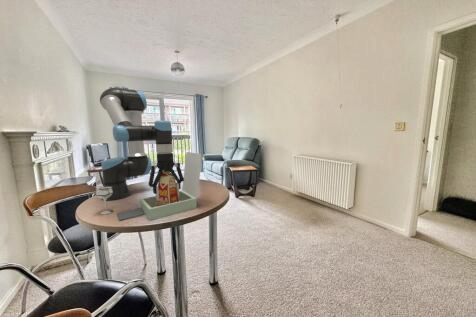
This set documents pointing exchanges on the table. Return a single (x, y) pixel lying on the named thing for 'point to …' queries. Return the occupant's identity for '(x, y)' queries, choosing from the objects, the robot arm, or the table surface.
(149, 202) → the green shallow open box
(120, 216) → the mat
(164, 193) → the milk carton
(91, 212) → the table surface
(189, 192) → the lid
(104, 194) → the wineglass
